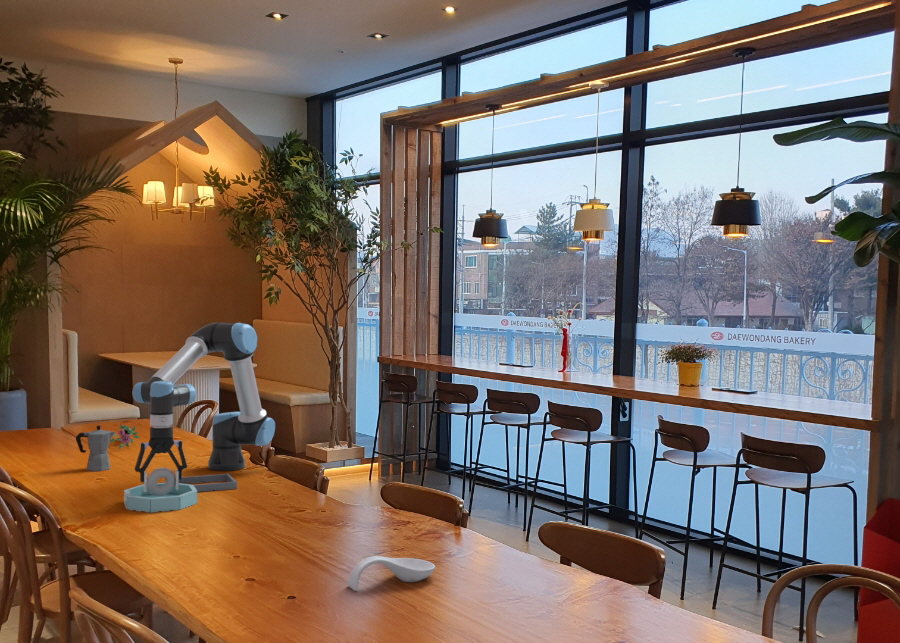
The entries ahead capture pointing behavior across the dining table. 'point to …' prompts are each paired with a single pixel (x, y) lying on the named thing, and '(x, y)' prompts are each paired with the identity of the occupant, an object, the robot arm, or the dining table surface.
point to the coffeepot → (96, 448)
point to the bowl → (160, 498)
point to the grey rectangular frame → (210, 478)
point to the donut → (155, 476)
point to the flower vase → (125, 435)
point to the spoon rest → (394, 569)
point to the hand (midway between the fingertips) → (160, 490)
